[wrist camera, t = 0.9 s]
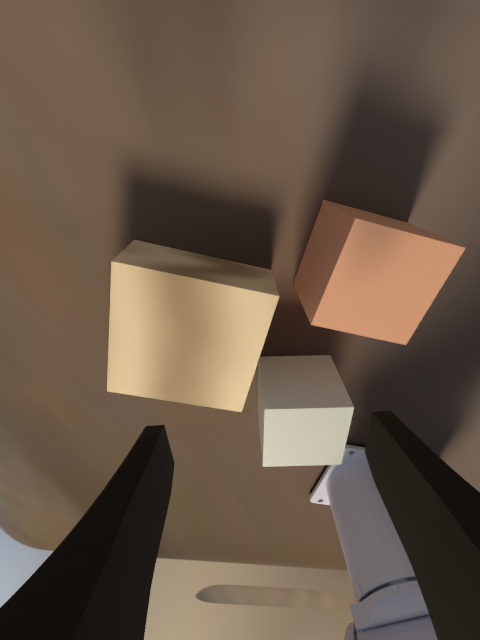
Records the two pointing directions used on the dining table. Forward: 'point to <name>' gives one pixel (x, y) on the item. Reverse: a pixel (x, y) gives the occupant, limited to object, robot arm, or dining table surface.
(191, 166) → the dining table surface
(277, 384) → the off-white cube
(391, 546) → the robot arm
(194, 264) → the maple block
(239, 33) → the dining table surface
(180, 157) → the dining table surface
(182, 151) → the dining table surface
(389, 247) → the terracotta cube
